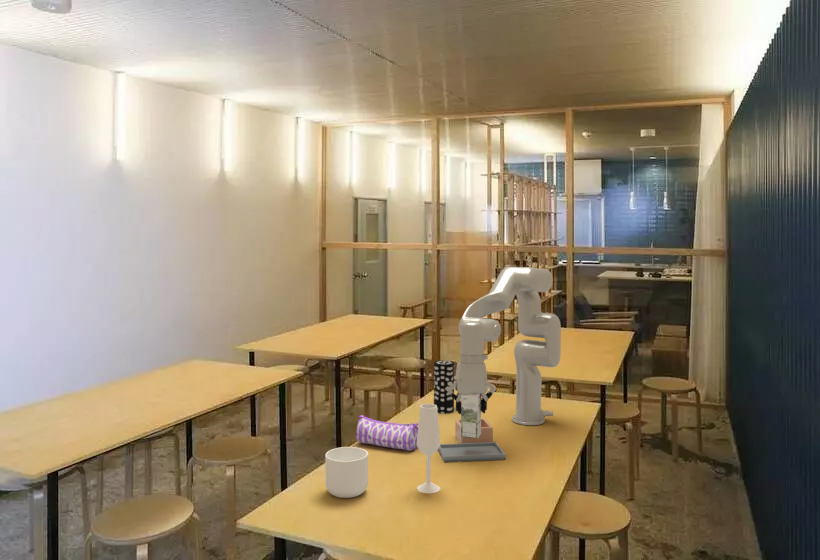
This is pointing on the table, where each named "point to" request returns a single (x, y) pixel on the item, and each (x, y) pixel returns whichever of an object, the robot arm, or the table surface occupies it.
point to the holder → (484, 437)
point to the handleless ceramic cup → (346, 471)
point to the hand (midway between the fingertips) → (471, 412)
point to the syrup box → (471, 415)
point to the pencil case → (387, 434)
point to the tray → (471, 452)
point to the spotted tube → (443, 386)
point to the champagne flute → (428, 442)
